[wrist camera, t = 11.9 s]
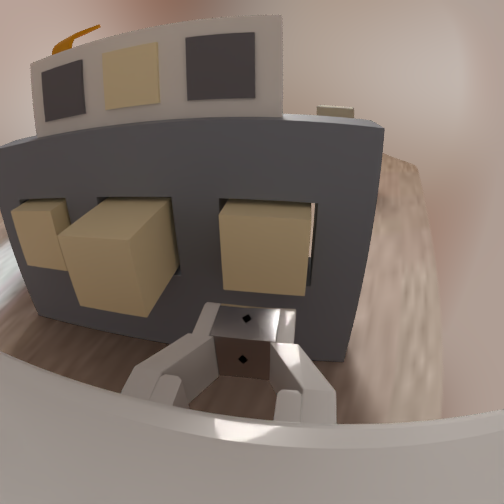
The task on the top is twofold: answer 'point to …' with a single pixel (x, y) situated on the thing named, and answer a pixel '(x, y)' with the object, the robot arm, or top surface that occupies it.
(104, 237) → the button mid
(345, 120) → the panel
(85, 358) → the top surface
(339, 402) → the top surface
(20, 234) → the button left
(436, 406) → the top surface
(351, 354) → the top surface
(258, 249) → the button right
